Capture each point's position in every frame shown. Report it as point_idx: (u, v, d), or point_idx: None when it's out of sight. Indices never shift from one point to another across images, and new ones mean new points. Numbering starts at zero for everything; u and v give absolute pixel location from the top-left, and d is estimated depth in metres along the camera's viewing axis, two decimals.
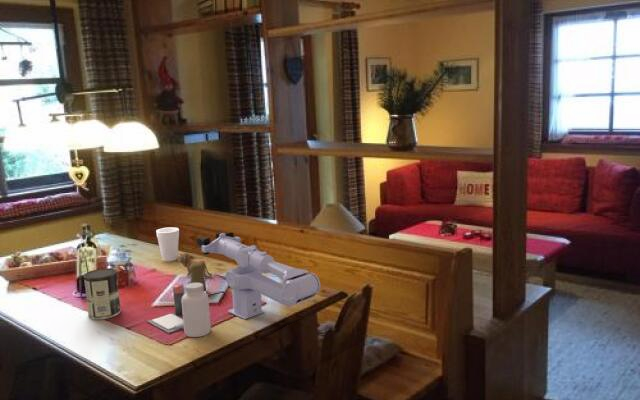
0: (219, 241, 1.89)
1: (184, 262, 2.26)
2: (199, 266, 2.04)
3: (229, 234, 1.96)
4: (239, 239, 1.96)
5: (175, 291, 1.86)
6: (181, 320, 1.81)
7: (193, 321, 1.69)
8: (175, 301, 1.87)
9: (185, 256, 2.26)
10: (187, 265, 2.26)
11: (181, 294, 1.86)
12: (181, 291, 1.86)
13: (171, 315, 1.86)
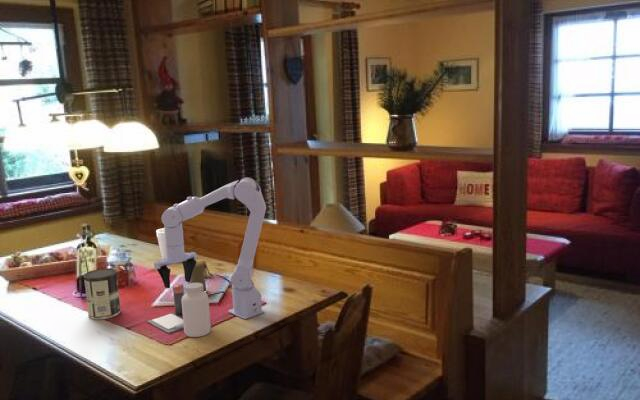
0: None
1: None
2: (199, 266, 2.04)
3: None
4: (193, 253, 1.90)
5: (175, 291, 1.86)
6: (181, 320, 1.81)
7: (193, 321, 1.69)
8: (175, 301, 1.87)
9: None
10: None
11: (181, 294, 1.86)
12: (181, 291, 1.86)
13: (171, 315, 1.86)
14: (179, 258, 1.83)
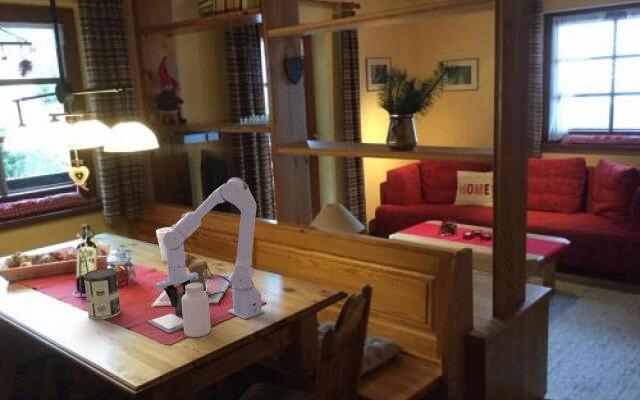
0: None
1: (186, 262, 2.26)
2: (199, 266, 2.04)
3: None
4: (195, 273, 1.92)
5: None
6: (181, 320, 1.81)
7: (193, 321, 1.69)
8: None
9: (187, 256, 2.26)
10: (189, 265, 2.26)
11: (181, 294, 1.86)
12: (181, 291, 1.86)
13: (171, 315, 1.86)
14: (181, 279, 1.84)
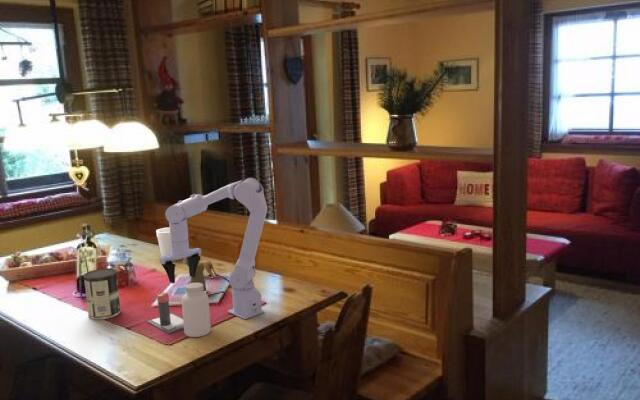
0: None
1: None
2: (199, 266, 2.04)
3: None
4: (197, 248, 1.94)
5: (159, 300, 1.76)
6: (181, 320, 1.81)
7: (193, 321, 1.69)
8: (160, 311, 1.77)
9: None
10: None
11: (166, 303, 1.77)
12: (166, 300, 1.76)
13: (171, 315, 1.86)
14: (184, 253, 1.86)
